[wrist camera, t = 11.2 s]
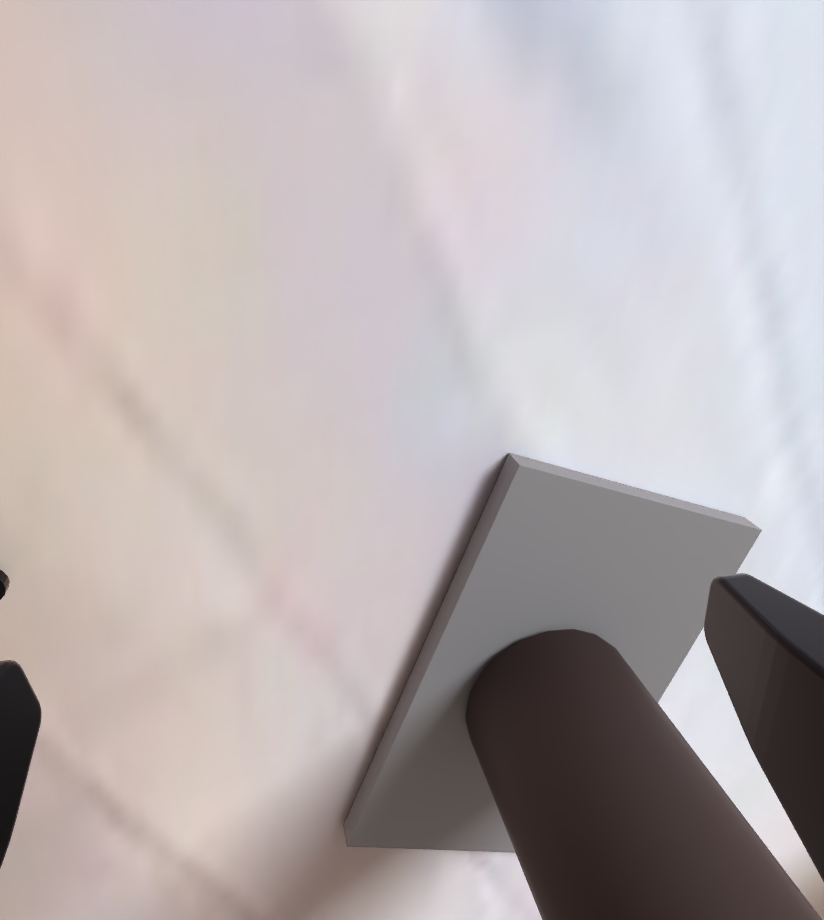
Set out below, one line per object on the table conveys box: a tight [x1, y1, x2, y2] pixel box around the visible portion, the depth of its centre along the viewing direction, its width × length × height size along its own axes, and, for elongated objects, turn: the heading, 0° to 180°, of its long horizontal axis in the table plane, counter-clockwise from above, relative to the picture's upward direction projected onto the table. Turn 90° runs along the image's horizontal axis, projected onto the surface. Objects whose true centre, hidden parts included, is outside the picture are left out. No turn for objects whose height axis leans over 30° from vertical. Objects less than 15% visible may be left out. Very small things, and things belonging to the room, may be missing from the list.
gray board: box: [343, 453, 762, 852], centre depth 28 cm, size 11×18×1 cm, turn 161°
